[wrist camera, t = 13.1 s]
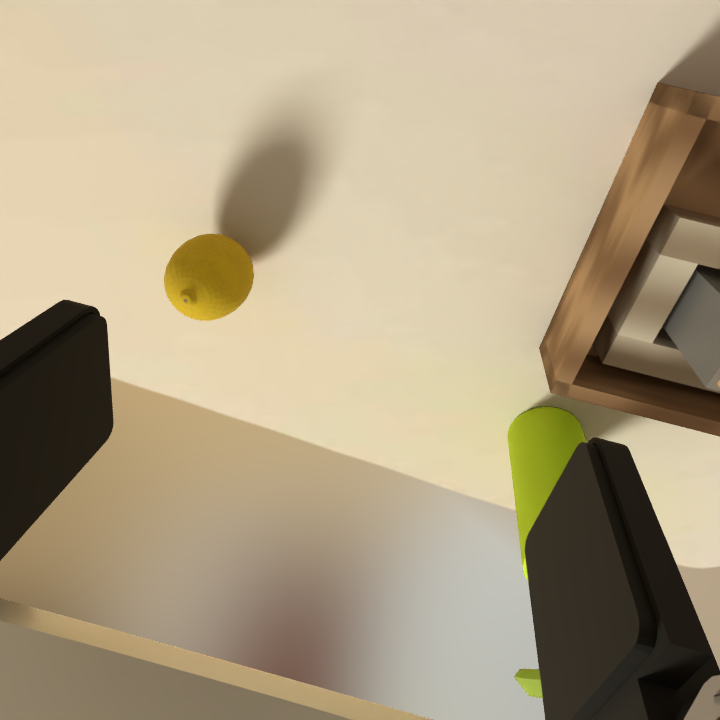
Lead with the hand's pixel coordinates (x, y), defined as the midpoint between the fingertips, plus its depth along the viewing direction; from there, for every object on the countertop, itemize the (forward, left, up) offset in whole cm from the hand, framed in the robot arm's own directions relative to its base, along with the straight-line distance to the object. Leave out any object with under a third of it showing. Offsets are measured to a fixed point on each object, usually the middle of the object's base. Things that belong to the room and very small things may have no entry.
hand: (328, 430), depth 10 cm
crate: (+2, +20, -28) cm, 35 cm away
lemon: (+10, -12, -28) cm, 32 cm away
